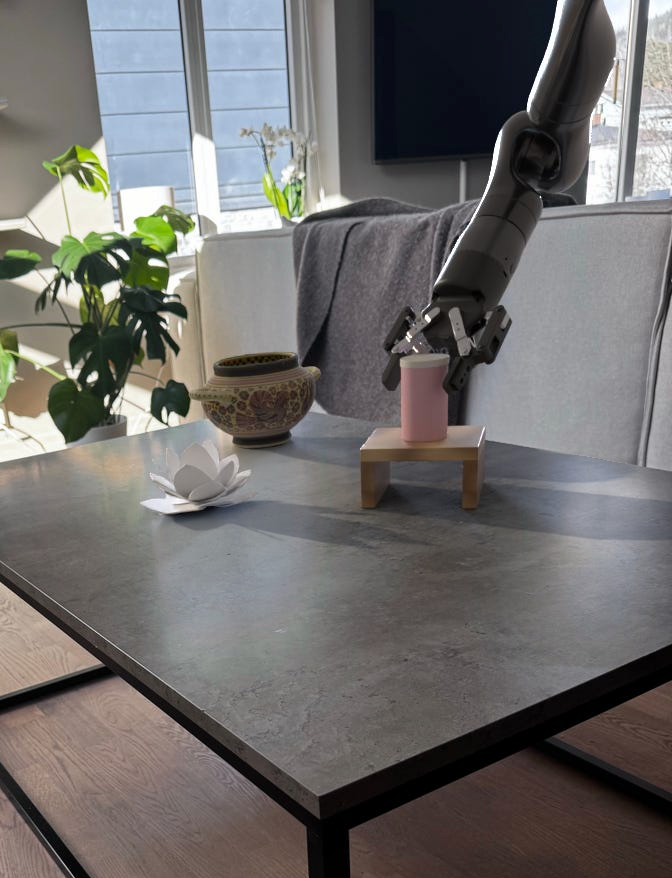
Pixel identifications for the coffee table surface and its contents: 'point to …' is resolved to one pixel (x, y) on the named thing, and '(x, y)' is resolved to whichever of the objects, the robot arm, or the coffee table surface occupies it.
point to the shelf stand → (423, 459)
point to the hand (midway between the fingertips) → (416, 389)
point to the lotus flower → (199, 481)
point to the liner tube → (424, 397)
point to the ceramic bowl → (258, 397)
